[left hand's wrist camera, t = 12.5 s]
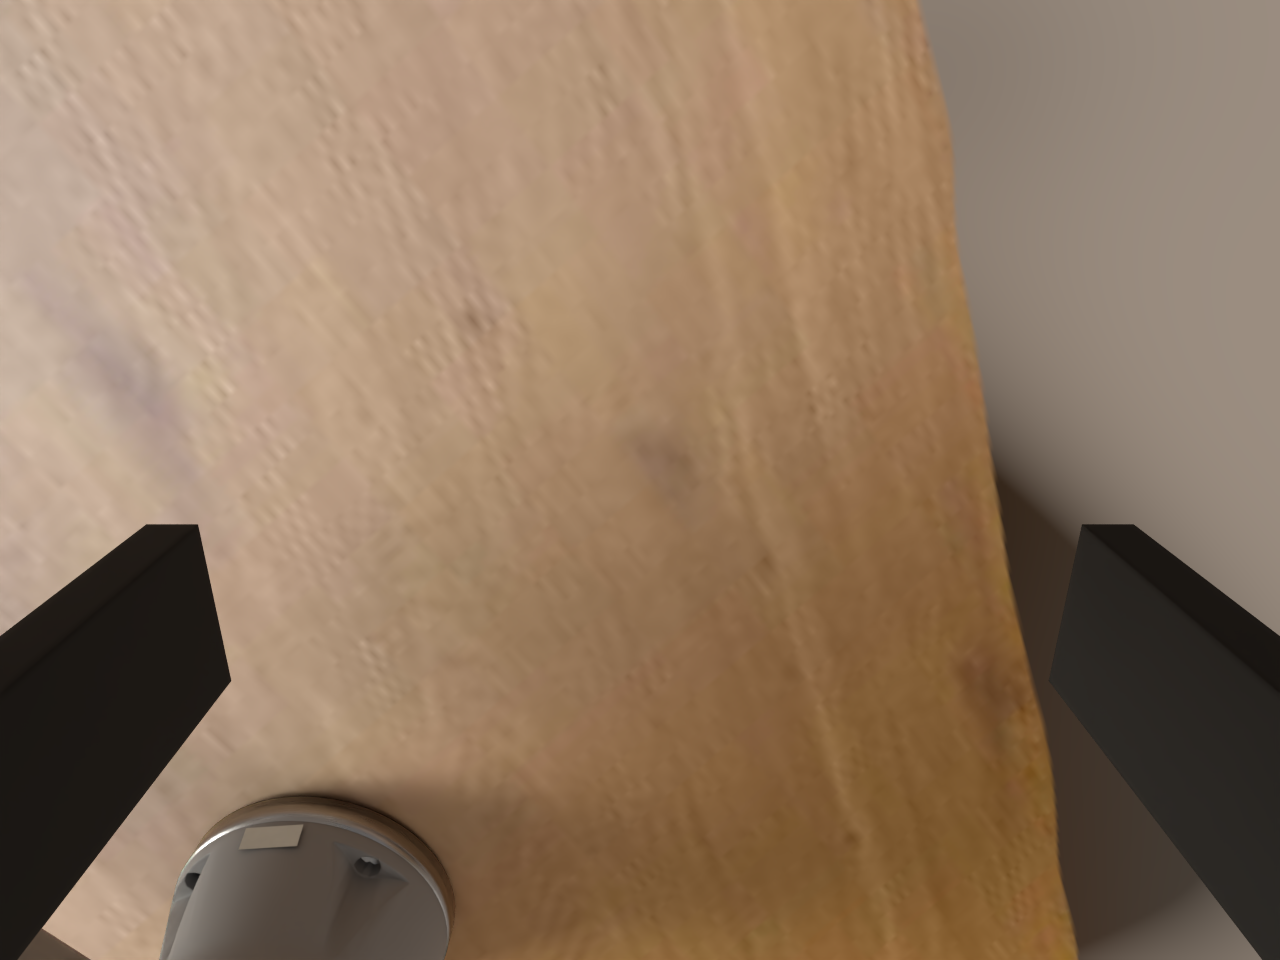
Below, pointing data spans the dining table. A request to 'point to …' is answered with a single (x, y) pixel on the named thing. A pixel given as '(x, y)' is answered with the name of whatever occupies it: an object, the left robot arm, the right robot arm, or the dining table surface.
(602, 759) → the dining table surface
